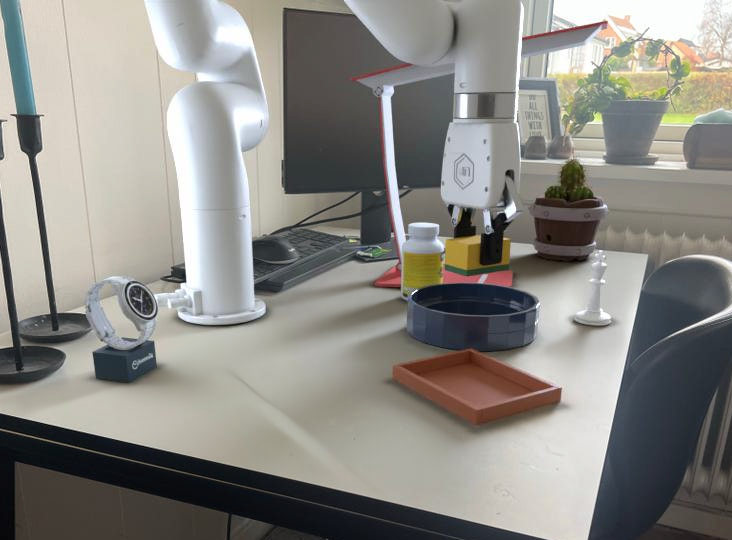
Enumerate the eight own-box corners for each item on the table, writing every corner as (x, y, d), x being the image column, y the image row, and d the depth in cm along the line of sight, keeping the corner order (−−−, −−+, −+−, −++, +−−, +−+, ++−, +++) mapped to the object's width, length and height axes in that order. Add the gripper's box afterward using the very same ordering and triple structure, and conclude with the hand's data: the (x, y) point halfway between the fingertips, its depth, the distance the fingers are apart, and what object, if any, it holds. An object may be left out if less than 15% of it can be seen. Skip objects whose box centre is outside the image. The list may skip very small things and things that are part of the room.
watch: (144, 385, 77) (134, 287, 74) (82, 376, 80) (69, 281, 76) (171, 367, 82) (163, 275, 79) (113, 360, 85) (102, 270, 81)
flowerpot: (597, 267, 133) (611, 156, 126) (516, 259, 139) (525, 154, 132) (607, 253, 145) (620, 152, 139) (532, 247, 152) (541, 149, 145)
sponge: (466, 276, 88) (468, 244, 87) (444, 270, 92) (445, 239, 90) (508, 270, 91) (511, 239, 90) (485, 263, 95) (487, 234, 94)
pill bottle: (439, 305, 108) (443, 229, 104) (397, 303, 109) (399, 227, 105) (443, 294, 114) (446, 222, 110) (403, 292, 115) (405, 220, 111)
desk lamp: (575, 303, 109) (608, 17, 95) (339, 284, 120) (338, 25, 106) (578, 278, 125) (606, 29, 111) (369, 263, 136) (372, 35, 122)
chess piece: (592, 327, 97) (601, 255, 94) (567, 318, 101) (574, 249, 98) (618, 322, 99) (628, 252, 96) (592, 314, 104) (600, 246, 100)
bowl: (461, 364, 84) (463, 324, 82) (382, 327, 97) (382, 292, 96) (563, 341, 92) (567, 304, 90) (477, 310, 105) (479, 277, 104)
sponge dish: (475, 429, 67) (477, 410, 66) (391, 381, 78) (392, 364, 78) (560, 405, 72) (562, 387, 72) (470, 363, 84) (471, 348, 83)
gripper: (417, 110, 90) (414, 252, 96) (510, 110, 76) (499, 276, 82) (464, 109, 93) (458, 247, 100) (560, 109, 80) (546, 269, 86)
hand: (476, 259), depth 91 cm, fingers closed on sponge, 4 cm apart
